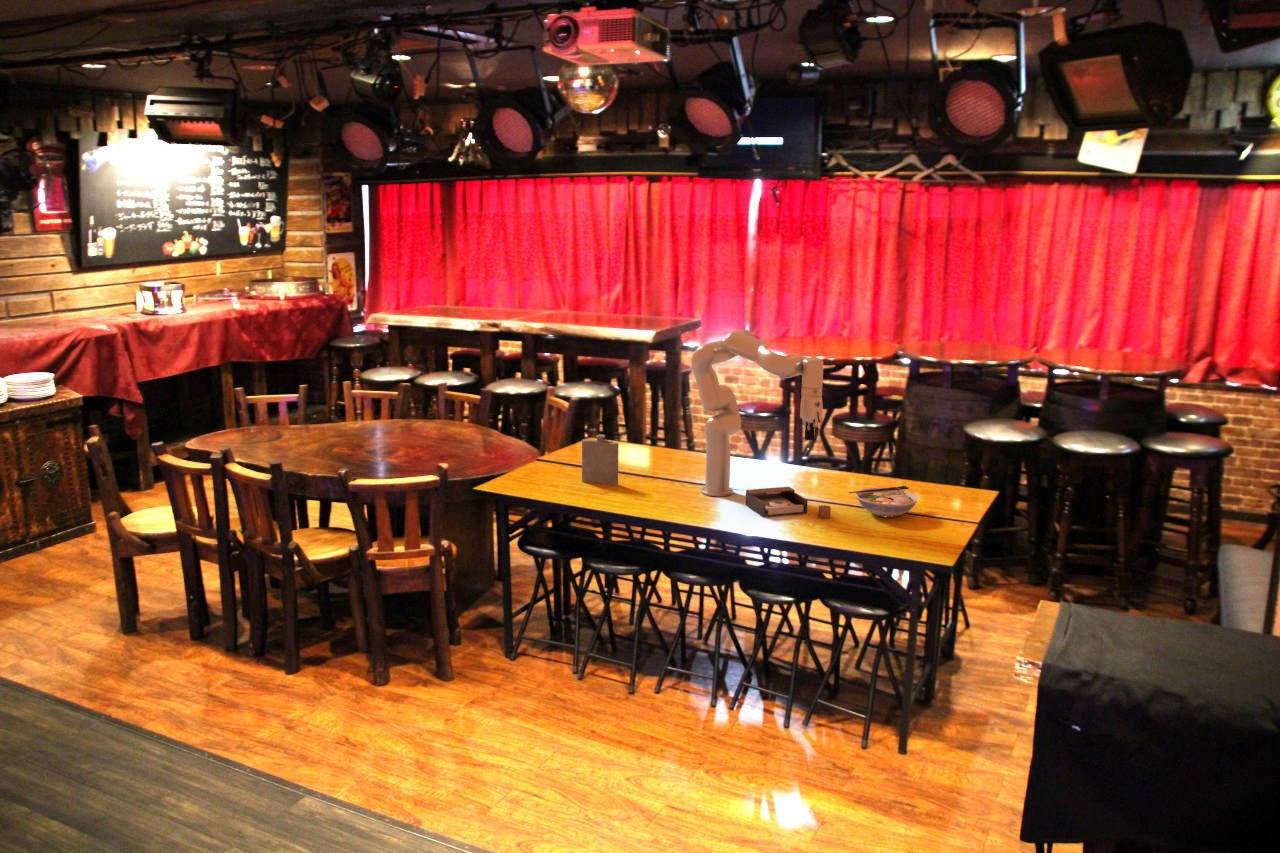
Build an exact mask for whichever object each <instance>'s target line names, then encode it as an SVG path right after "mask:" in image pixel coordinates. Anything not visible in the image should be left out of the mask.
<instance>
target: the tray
mask: <svg viewBox="0 0 1280 853" xmlns="http://www.w3.org/2000/svg"><path fill="white" fill-rule="evenodd" d="M759 500H761V501H762V502H764V503H765V511H766V512H768V515H772V514H783V513H795V512H803V506H804V505H794V504H793V503H791V502H790V501H788V500H787V499H785V498H783V497H780V498H767V499H759ZM772 500H782V501H786V502H787V503H788V506H780V507H769V502H770V501H772Z"/></svg>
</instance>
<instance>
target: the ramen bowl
mask: <svg viewBox="0 0 1280 853" xmlns="http://www.w3.org/2000/svg"><path fill="white" fill-rule="evenodd" d="M909 488H910V487H909V486H907V485H902V486H894V487H893V486H892V487H869V488H861V489H860V490H857V491H849V492H848V494H855V496H856V499H857V501H858V502H859V504H860V505H861V506H862V507H863V508H864V509H865V510H866V511H867V512H870V513H872V514H874V515H875V516H877V515H879V516H878V517H880V516H887V517H886V518H892V517H891V516H894V517H896V516H901V515H904V514H906V513H908V512H909V511H911V510H912V509H913V508H914V507H915V505H916V504H917V503H918V500H919V497H918V496H917V495H916V494H914V493H912V492H909V491H907V490H909Z"/></svg>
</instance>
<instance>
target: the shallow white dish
mask: <svg viewBox="0 0 1280 853" xmlns="http://www.w3.org/2000/svg"><path fill="white" fill-rule="evenodd" d="M780 506H788V503H787V502H786V501H782V500H772V501H770V502H769V507H780Z"/></svg>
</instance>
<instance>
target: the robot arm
mask: <svg viewBox="0 0 1280 853" xmlns="http://www.w3.org/2000/svg"><path fill="white" fill-rule="evenodd" d="M738 356H739V357H742V358H744V359H747V360H749V361H752V362H754V363H756V364H758V366H759V367H761V368H762V369H763V370H764V371H766V372H768V373H771V374H772V375H775V376H778V377H780V378H784V379H789V378H790V379H791V378H793V377H797V376H801V389H800V390H801V394H800V395H801V398H800V407H799V418H800V419H802V420H801V421H802V423H803V426H804V438H803V439H804V440H805V441H814V440H815V433H816V432H815V430H816V428H818V427H819V423H820V424H821V423H823V421H824V420H823V418H824V416H823V415H824V414H823V413H824V411H823V410H824V406H823V397H822V396H823V383H824V382H823V381H824V361H823V359H821V358H818V357H807V356H803V355H800V354H795V355H791V356H787V357H785V356H782V355H779V354H777V353H776V352H773V351H771V349H770V350H769V345H768V343H767V342H766V341H764V340H762V339H761V340H760V339H758V338H756V337H755V334H754V333H753V332H752V331H750V330H749V329H746V328H745V329H744V328H742V329H738V330H733V331H730V332H729V333H727V334H726V335H725V337H724V338H722V339H720V340H717V341H712V342H707V343H704V344H702V345H700V346H699V347H697V348H696V349H695V351H694V352H693V353H692V356H691V360H690V362H691V363H690V364H691V370H692V372H693V376H694V379H695V382H696V386H697V392H698V395H699V398H700V403H701V404H702V405H701V406H702V408H703V410H704V411H706V412H709V413H715V412H717V413H716V414H715V415H712V416H711V417H710V418H708V419H707V421H706V422H705V424H704V433H705V434H704V435H705V443H706V444H705V445H706V446H705V447H706V448H705V449H706V450H705V451H706V452H705V454H706V455H705V485H704V486H703V487H702V488H701V491H700V492H701V493H702V494H703V495H705V496H708V497H709V496H710V497H729V496H731V495H733V493H734V490H733V488H732V487H730V479H731V478H730V476H731V472H730V470H731V444H730V439H729V437H730V436H732V435H735V434H737V433H739V431H740V429H741V427H742V418H741V413H740V411H739V406H738V403H737V399H736V396H735V393H734V391H733V390H732V388H730V386H727V385H725V384H720V382H719V379H718V375H717V373H716V371H715V370H714V368H713V365H715V364H720V363H725V362H727V361H729V360H731V359H734V358H735V357H738Z"/></svg>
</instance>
